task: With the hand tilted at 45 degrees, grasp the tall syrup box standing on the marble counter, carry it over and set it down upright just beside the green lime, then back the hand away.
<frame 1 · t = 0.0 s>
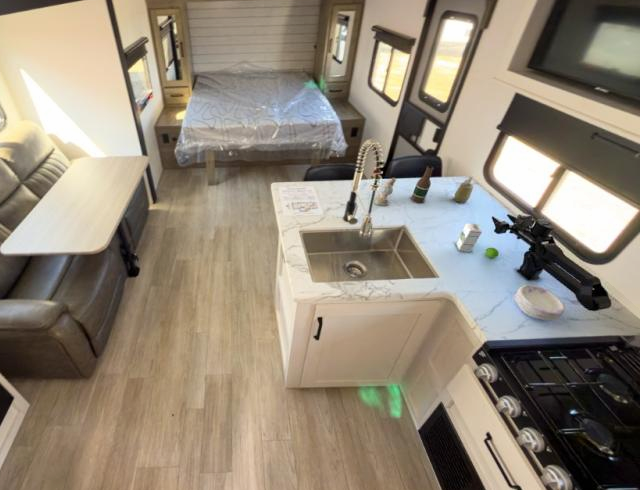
hand: (499, 215, 163), 17 cm above the worktop, tool horizontal, fingers open, 9 cm apart
beer bottle: (417, 200, 204), on the worktop
figurine: (381, 202, 202), on the worktop
squeeze bottle: (459, 200, 203), on the worktop
lime: (489, 256, 163), on the worktop
paper bowls: (531, 309, 137), on the worktop
syrup box: (462, 248, 168), on the worktop
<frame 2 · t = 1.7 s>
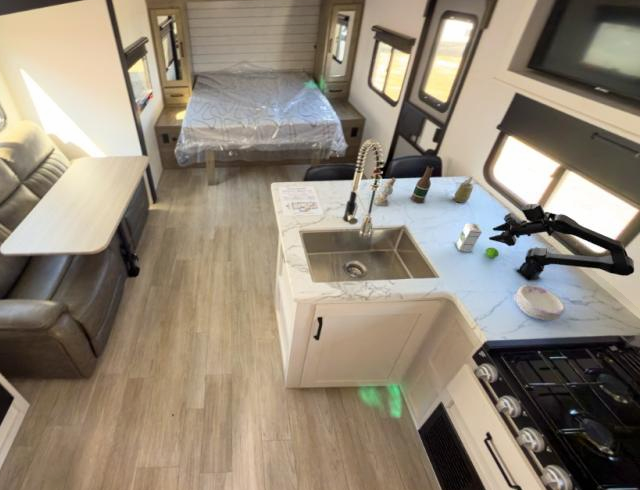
hand: (491, 234, 156), 14 cm above the worktop, tool tilted 45°, fingers open, 9 cm apart
nothing on the worktop moved.
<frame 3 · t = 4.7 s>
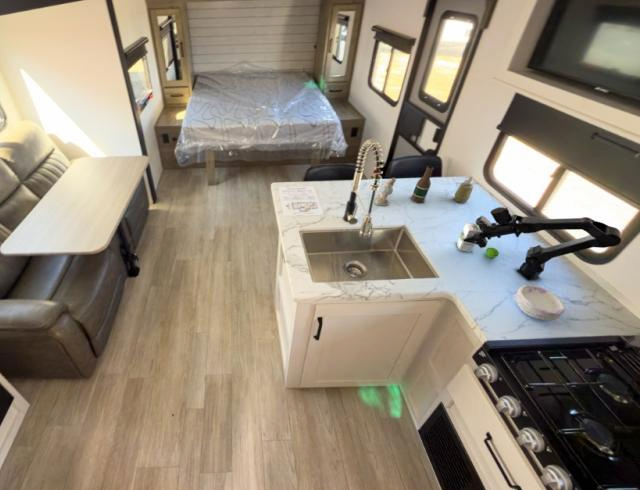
hand: (465, 236, 164), 7 cm above the worktop, tool tilted 45°, fingers closed on syrup box, 7 cm apart
syrup box: (463, 248, 168), on the worktop, touching gripper
everything else where it was.
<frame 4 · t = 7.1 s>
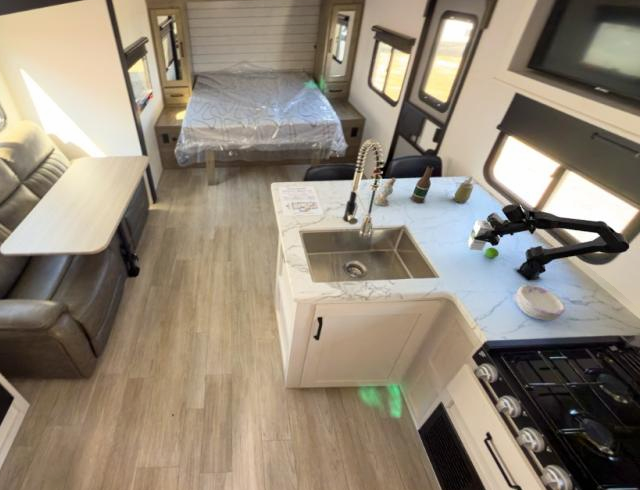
hand: (476, 234, 158), 12 cm above the worktop, tool tilted 45°, fingers closed on syrup box, 7 cm apart
syrup box: (474, 246, 162), point 5 cm above the worktop, touching gripper
everything else where it was.
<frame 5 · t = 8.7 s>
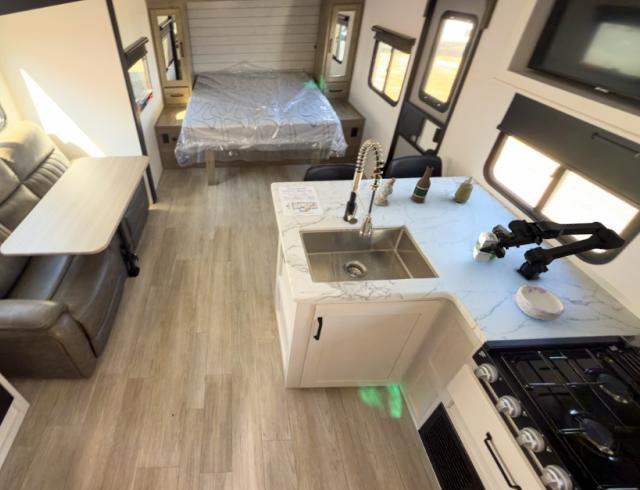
hand: (481, 246, 156), 9 cm above the worktop, tool tilted 45°, fingers closed on syrup box, 7 cm apart
syrup box: (478, 257, 160), point 2 cm above the worktop, touching gripper
everything else where it was.
when the fingers open (7 cm above the worktop, at t = 9.9 s): syrup box stays where it is, on the worktop.
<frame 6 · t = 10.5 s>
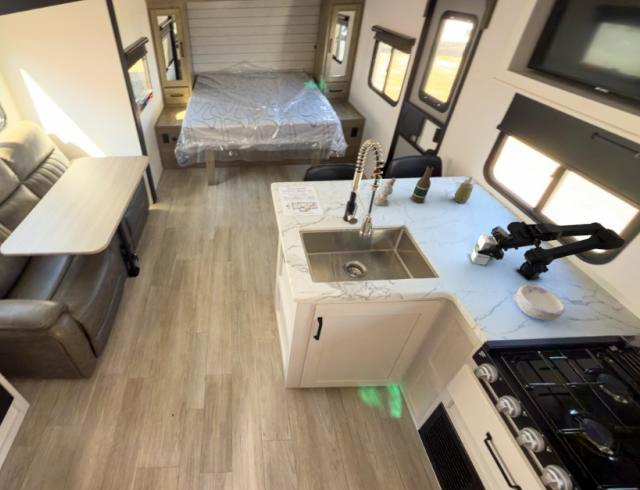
hand: (479, 247, 157), 8 cm above the worktop, tool tilted 45°, fingers open, 9 cm apart
syrup box: (476, 260, 161), on the worktop
everything else where it was.
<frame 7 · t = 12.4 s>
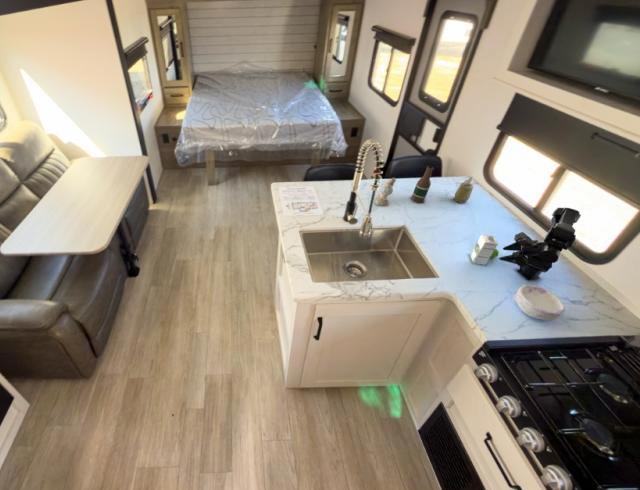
hand: (501, 253, 152), 9 cm above the worktop, tool tilted 45°, fingers open, 9 cm apart
nothing on the worktop moved.
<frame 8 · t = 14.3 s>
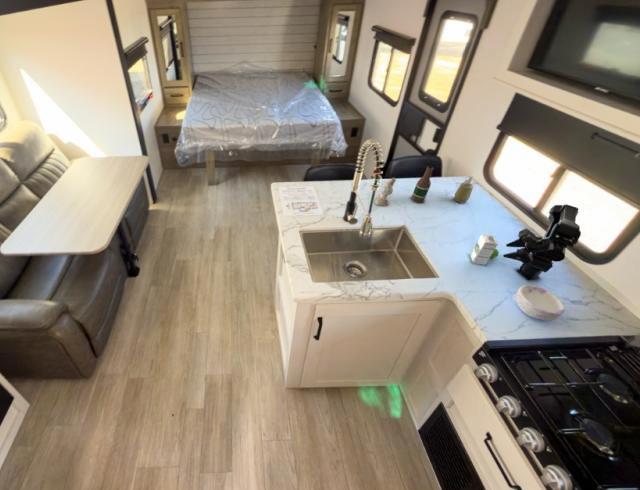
hand: (504, 250, 150), 12 cm above the worktop, tool tilted 45°, fingers open, 9 cm apart
nothing on the worktop moved.
at the end: syrup box inside the target area (0.5 cm from its centre), on the worktop; syrup box 8.6 cm from the lime (horizontally); syrup box tilted 0° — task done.
